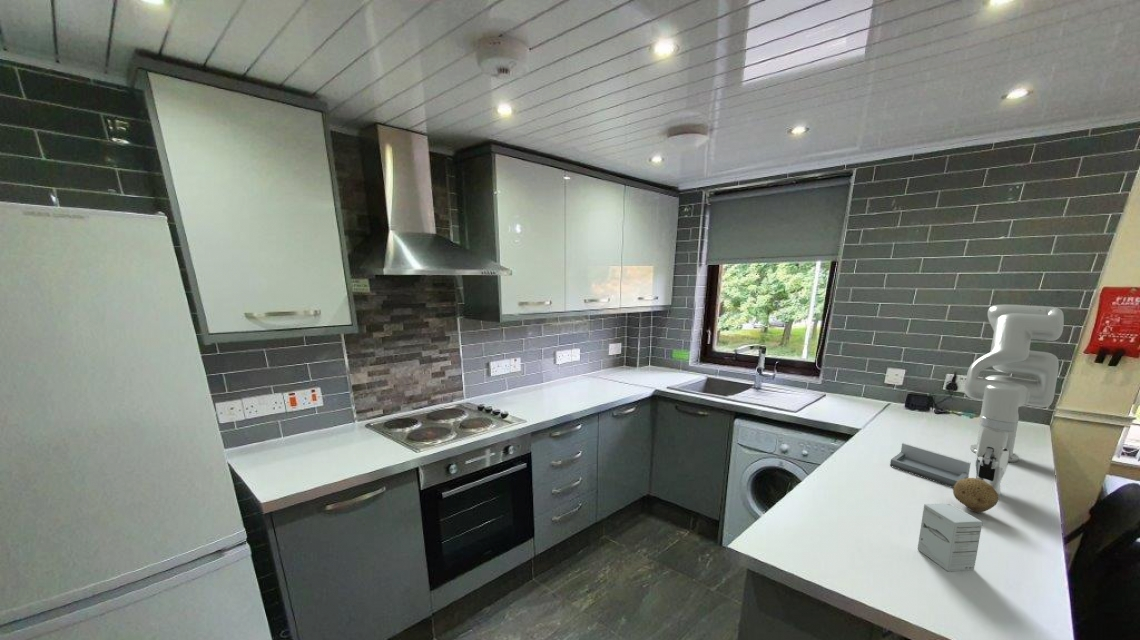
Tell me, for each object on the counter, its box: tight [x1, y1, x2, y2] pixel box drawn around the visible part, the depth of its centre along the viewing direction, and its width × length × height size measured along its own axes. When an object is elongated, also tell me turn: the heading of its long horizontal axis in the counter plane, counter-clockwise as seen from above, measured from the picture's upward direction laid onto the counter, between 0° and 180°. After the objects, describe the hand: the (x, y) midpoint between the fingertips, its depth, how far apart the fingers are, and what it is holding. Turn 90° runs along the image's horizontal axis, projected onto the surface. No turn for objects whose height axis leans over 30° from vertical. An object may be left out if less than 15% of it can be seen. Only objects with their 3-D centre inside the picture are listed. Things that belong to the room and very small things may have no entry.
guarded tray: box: [889, 442, 971, 488], centre depth 133 cm, size 12×18×6 cm, turn 34°
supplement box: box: [917, 502, 983, 572], centre depth 91 cm, size 7×7×13 cm
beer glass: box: [974, 443, 1009, 497], centre depth 122 cm, size 7×7×15 cm
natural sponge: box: [952, 477, 999, 513], centre depth 111 cm, size 9×9×10 cm
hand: (988, 474), depth 122 cm, fingers open, 9 cm apart
